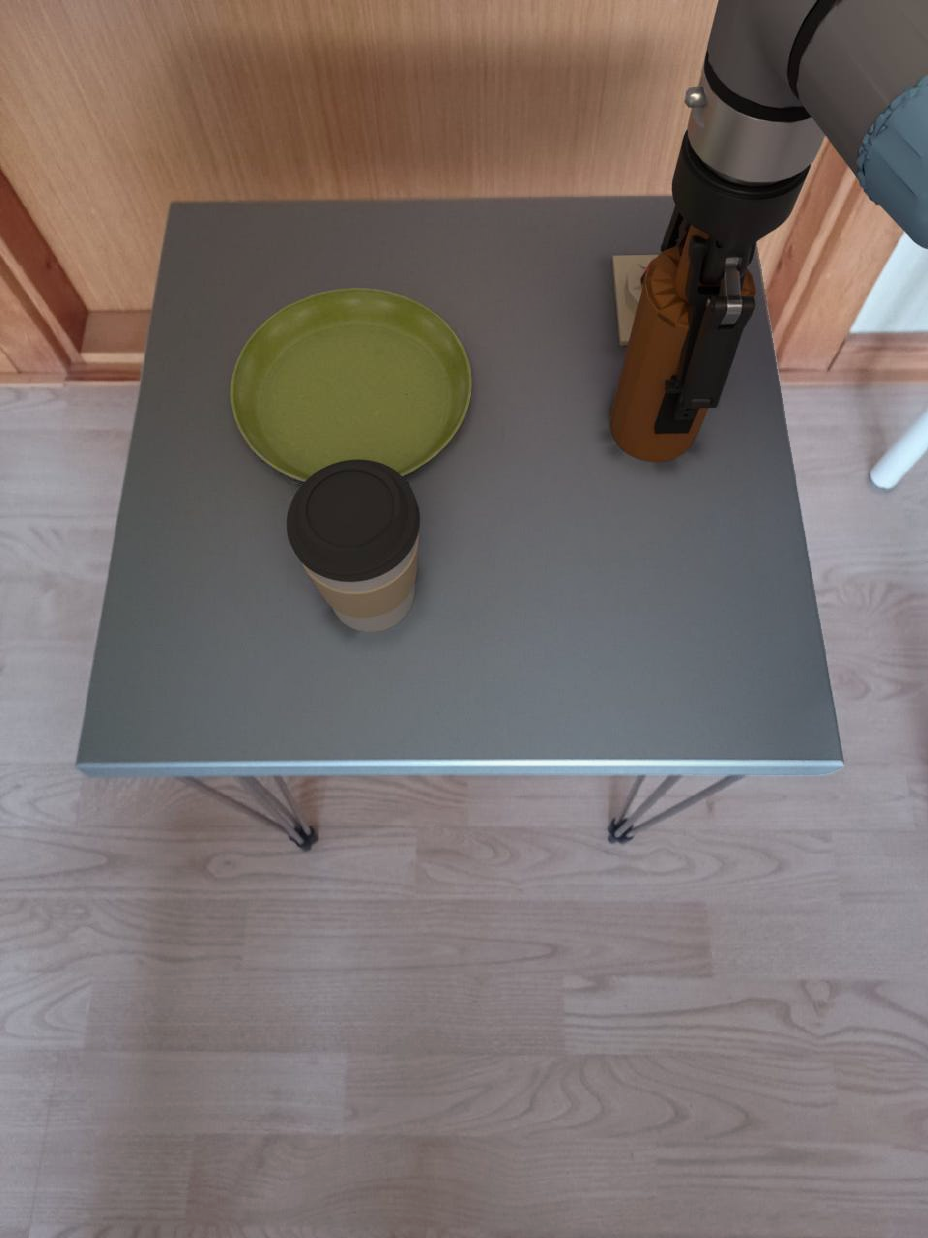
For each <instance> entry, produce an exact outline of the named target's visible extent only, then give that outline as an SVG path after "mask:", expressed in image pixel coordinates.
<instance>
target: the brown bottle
mask: <svg viewBox="0 0 928 1238" xmlns="http://www.w3.org/2000/svg"><path fill="white" fill-rule="evenodd" d="M692 235H698V236H700V237H702V238H704V239H705V240H706V238H707V239H708V238H709V235H708V234H706V233H703V232H701V231H700V230H698V229H696V228H695V227H693V226H692V225H690V228H689V232H688V235H687V238H686V242H685V245H684V249H683V252H682V255H681V256H680V254H679V246H675V247H673V248H670V249H667V250H665V251H663V252H660V253H659V254H658V255H659V256H658V257H657V258H656V259H655V260H653V261H652V262H651V264H650V265H649V268H648V271H647V274H646V276H645V279H644V283H643V287H642V291H641V295H640V299H639V303H638V307H637V311H636V315H635V319H634V323H633V327H632V330H631V334H630V338H629V342H628V346H626V351H625V353H624V354H625V355H624V358H623V362H622V366H621V369H620V375H619V378H618V383H617V386H616V389H615V394H614V397H613V402H612V404H611V405H612V406H611V410H610V414H609V429H610V433H611V436H612V438H613V439H614V441H615V443H616V444H617V445H618V446H619V448H621V450H623V451H624V452H625V453H626V454H628V455H629V456H631V457H633V458H635V459H637V460H640V461H645V462H649V463H662V462H663V463H664V462H667V461H672V460H675V459H676V458H678V457H681V456H682V455H684V453H686V452H687V451H688V450H689V449H690V448H691V446H692V445H693V444H694V442H695V440H696V438H697V436H698V434H699V431H700V430H701V426H702V424H703V422H704V420H705V417H706V415H707V412H708V411H709V408H699V410H698V412H697V415H696V417H695V420H694V422H693V424H692V427H691V429H690V432H689V433H687V434H655V429H654V425H655V422H656V419H657V416H658V413H659V410H660V407H661V404H662V402H663V399H664V396H665V393H666V391H665V381H666V380H670V378H671V375H677V372H678V366H679V361H680V355H681V350H682V347H683V344H684V341H685V338H686V335H687V333H688V330H689V323H688V312H689V307H690V304H689V302H688V299H687V297H686V294H685V288H686V282H687V277H688V271H689V265H690V259H689V257H688V249H689V244H690V239H691V236H692ZM702 286H720V285H703V284H702V283H700V282H699V285H698V287H702ZM756 295H757V290H756V284H755V280H754V275H753V273H752V271H750V269H749V268H748V267H747V270H746V274H745V278H744V282H743V287H742V291H741V296H754V299H756V298H755V297H756Z"/></svg>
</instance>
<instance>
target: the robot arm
mask: <svg viewBox="0 0 928 1238" xmlns="http://www.w3.org/2000/svg"><path fill="white" fill-rule="evenodd" d="M684 104H685V105H686V107H687V108H689V109H691V110H690V114H689V118H688V122H687V129H686V130H685V132H684V134H683V137H682V141H681V144H680V148H679V152H678V155H677V160H676V163H675V167H674V170H673V175H672V180H671V188H670V189H671V196H672V201H673V203H674V207H673V210H672V213H671V216H670V219H669V222H668V225H667V228H666V231H665V234H664V236H663V240H662V243H661V245H660V253H662V252H663V251H665V250H667V249H670V248H673V247H675V246H679V254H680V256H681V255H682V252H683V249H684V245H685V242H686V238H687V235H688V232H689V228H690V225H692V226H693V227H695V228H696V229H698V230H700V231H701V232H703V233H706V234H708V235H709V238H708V239H707V238H706V240H705V239H704V238H702V237H700V236H698V235H692V236H691V239H690V244H689V249H688V257H689V259H690V265H689V271H688V277H687V282H686V288H685V294H686V297H687V299H688V302H689V304H690V307H689V312H688V323H689V330H688V333H687V335H686V338H685V341H684V344H683V347H682V350H681V355H680V361H679V366H678V372H677V375H671V378H670V380H666V381H665V391H666V393H665V396H664V399H663V402H662V404H661V407H660V410H659V413H658V416H657V419H656V422H655V425H654V429H655V434H687V433H689V432H690V429H691V427H692V424H693V422H694V420H695V417H696V415H697V412H698V410H699V408H708V409H717V408H718V406H719V403H720V399H721V398H722V394H723V391H724V388H725V385H726V382H727V380H728V377H729V373H730V370H731V368H732V365H733V361H734V359H735V356H736V354H737V353H736V352H737V350H738V347H739V344H740V342H741V338H742V336H743V332H744V329H745V328H746V326H747V325H748V323H749V321H750V319H751V318H752V316H753V314H754V311H755V310H756V298H754V296H741V291H742V287H743V282H744V278H745V274H746V270H747V268H748V267H749V266H750V265H751V264H752V262H753V260H754V255H755V251H756V246H757V242H758V241H760V240H761V239H763V238H765V237H766V236H767V235H770V234H771V233H772V232H774V231H776V230H777V229H778V228H780V227H781V226H782V225H783V224H784V223H785V222H786V221H787V220H788V218H789V217H790V215H791V214H792V212H793V210H794V207H795V205H796V203H797V201H798V198H799V197H800V194H801V192H802V189H803V188H804V184H805V182H806V180H807V178H808V175H809V173H810V171H811V168H812V164H813V162H814V161H815V159H816V157H817V155H818V153H819V151H820V149H821V147H822V144H823V143H824V141H825V138H827V140H828V141H829V142H830V144H831V145H832V146H833V148H834V149H835V151H836V152H837V153H838V155H839V156H840V158H841V159H842V160H843V161H844V163H845V164H846V165H847V167H848V168H849V169H850V171H851V173H853V175H854V177H855V178H856V179H857V180H858V183H859V187H861V188H862V191H863V192H864V193H865V195H866V196H867V197H868V199H869V201H871V202H872V203H874V205H875V206H879V207H881V208H882V209H883V211H884V212H886V214H887V215H888V216H889V217H890V218H891V219H892V220H893V221H894V222H895V224H897V226H899V228H900V229H901V230H902V231H903V232H904V233H905V234H906V236H908V238H910V240H911V241H912V242H913V243H915V244H916V245H917V246H919V247H921V249H924V250H928V0H718V1H717V4H716V9H715V12H714V17H713V21H712V25H711V29H710V32H709V37H708V41H707V45H706V51H705V54H704V59H703V63H702V67H701V71H700V78H699V81H698V85H697V86H691V87H688V89H687V90H686V91H685V98H684ZM699 282H700V283H702V284H703V285H720V286H702V287H698V285H699Z"/></svg>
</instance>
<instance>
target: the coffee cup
mask: <svg viewBox="0 0 928 1238" xmlns="http://www.w3.org/2000/svg"><path fill="white" fill-rule="evenodd" d="M420 513H421V512H420V508H419V504H418V502H417V499H416V496H415V494H414V490H413V489H412V487H411V485H410V484H409V482H408V481H407V479H405V477H404V476H403V477H402V476H401V475H400V474H399V473H398V472H397V471H395V470H394V469H392V468H391V467H389V466H387V465H384V464H382V463H379V462H375V461H371V460H362V459H355V460H346V461H341V462H337V463H334V464H331V465H329V466H326V467H324V468H322V469H321V470H319V471H317V472H316V473H314V474H313V475H312V476H310V477H309V478H308V479H307V480H306V481H305V482H302V483H301V484H300V486H299V487H298V488H297V490H296V492H295V493H294V495H293V497H292V499H291V501H290V504H289V506H288V509H287V515H286V533H287V538H288V541H289V545H290V547H291V549H292V551H293V554H294V555H295V556H296V558H297V559H298V560H299V561H300V562H301V565H302V566H303V568H304V570H305V571H306V573H307V574H308V576H309V578H310V579H311V580H312V582H313V584H314V586H315V587H316V589H317V590H318V592H319V593H320V595H321V597H322V598H323V601H325V603H326V604H328V605H329V607H330V608H331V609H332V610H333V612H334V614H335V615H336V617H337V618H338V619H339V620H340V622H342V623H343V624H344V625H346V626H347V627H348V628H351V629H353V630H354V631H358V632H364V633H376V632H377V633H378V632H382V631H385V630H388V629H390V628H392V627H394V626H396V625H397V624H399V623H400V622H401V621H402V620H403V619H404V618H405V617H406V616H407V615H408V613H409V612H410V610H411V608H412V606H413V603H414V600H415V594H416V581H417V576H418V575H417V574H418V556H419V532H420V525H421V514H420Z"/></svg>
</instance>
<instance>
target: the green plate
mask: <svg viewBox="0 0 928 1238" xmlns="http://www.w3.org/2000/svg"><path fill="white" fill-rule="evenodd" d="M229 390H230V391H229V393H230V394H229V395H230V396H229V397H230V407H231V411H232V415H233V418H234V422H235V424H236V426H237V428H238V430H239V432H240V434H241V436H242V437H243V439H244V441H245V442H246V444H247V445H248V446H249V447H250V448H251V450H252V451H253V452H254V453H255V454H256V455H257V456H258V457H259V458H260V459H261V460H263V462H265V463H266V464H268V465H269V466H270V467H272V468H273V469H275V470H276V471H278V472H279V473H282V474H284V475H286V476H288V477H290V478H292V479H294V480H297V481H299V482H300V481H301V482H302V483H304V482H305V481H306V480H307V479H308V478H309V477H310V476H312V475H313V474H314V473H316V472H317V471H319V470H321V469H322V468H324V467H326V466H329V465H331V464H334V463H337V462H341V461H346V460H355V459H362V460H371V461H375V462H379V463H382V464H384V465H387V466H389V467H391V468H392V469H394V470H395V471H397V472H398V473H399V474H400V475H401V476H402V477H403V478H404V477H405V476H407V475H409V474H411V473H413V472H415V471H417V470H418V469H419V468H421V467H423V466H424V465H426V464H427V463H429V461H431V460H432V459H433V458H435V457H436V456H437V455H438V454H439V453H440V452H441V451H443V449H444V448H446V446H447V445H448V444H449V443H450V441H451V440H452V439H453V438H454V437H455V435H456V433H457V432H458V430H459V428H460V427H461V426H462V424H463V421H464V419H465V417H466V414H467V411H468V409H469V405H470V401H471V397H472V369H471V365H470V360H469V357H468V355H467V352H466V350H465V347H464V345H463V344H462V341H461V340H460V338H459V336H457V334H456V332H455V331H454V330H453V329H452V327H451V326H450V325H449V324H448V323H447V322H446V321H445V320H444V319H443V318H442V317H441V316H439V315H438V314H437V313H436V312H434V311H433V310H432V309H430V308H428V307H427V306H426V305H424V304H422V303H420V302H418V301H416V300H415V299H412V298H409V297H408V296H405V295H402V294H398V293H395V292H391V291H387V290H382V289H376V288H368V287H367V288H366V287H349V288H338V289H332V290H326V291H322V292H318V293H315V294H312V295H309V296H306V297H303V298H301V299H298V300H296V301H294V302H292V303H290V304H288V305H286V306H284V307H283V308H281V309H280V310H278V311H277V312H275V313H274V314H272V315H271V316H270V317H268V318H267V319H266V320H265V321H264V322H262V324H261V325H260V326H259V327H257V329H256V330H254V332H253V333H252V334H251V335H250V337H249V338H248V340H247V341H246V342H245V344H244V345H243V347H242V349H241V351H240V352H239V355H238V357H237V359H236V361H235V365H234V367H233V371H232V374H231V380H230V389H229Z"/></svg>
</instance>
